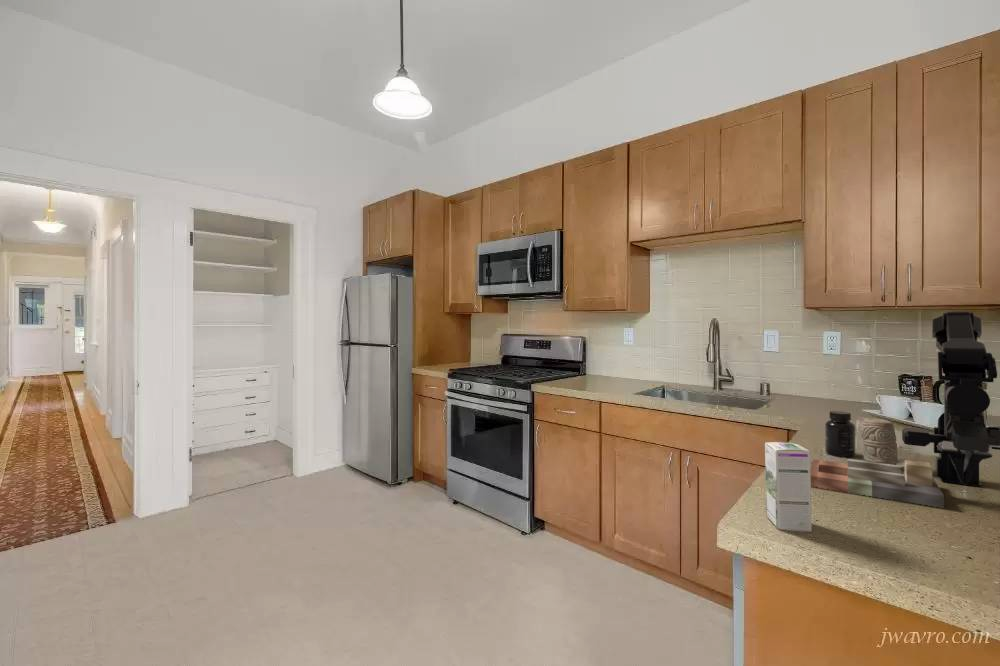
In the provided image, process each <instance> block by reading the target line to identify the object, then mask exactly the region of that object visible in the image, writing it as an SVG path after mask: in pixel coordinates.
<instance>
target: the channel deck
mask: <svg viewBox="0 0 1000 666" xmlns="http://www.w3.org/2000/svg"><path fill="white" fill-rule="evenodd" d="M810 477H811V488H815V487H818V488H817V489H821V488H824V489H823V490H827V489H829V491H833V490H835V491H834V492H839V491H841V492H840V493H845V492H846V493H845V494H851V493H852V494H851V495H857V494H858V496H863V495H865V496H864V497H869V496H871V497H870V498H875V497H877V499H881V498H884V499H883V500H887V499H890V500H889V501H894V500H897V501H896V502H900V501H902V503H906V502H909V503H908V504H912V503H915V504H914V505H918V504H922V505H921V506H924V505H928V506H927V507H930V506H933V507H932V508H936V507H939V508H938V509H942V508H943V509H944V510H945V495H944V493H943V491H942V490H941V488H940V487H939V486H938V483H937V482H936V480H935V479H934V477H933V476H932V486H925V485H918V484H911V483H907V482H906V480H905V470H904V471H903V470H902V466H901V465H897V464H896V465H891V464H883V463H875V462H868V461H865V460H860V459H859V460H858V459H851V458H847V462H846V463H844V462H838V461H831V460H830V461H829V460H823V459H815V458H814V459H813V458H812V460H811V464H810Z"/></svg>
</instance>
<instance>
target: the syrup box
mask: <svg viewBox="0 0 1000 666" xmlns="http://www.w3.org/2000/svg"><path fill="white" fill-rule="evenodd" d="M764 454H765V455H764V459H765V461H764V462H765V463H764V466H765V467H764V468H765V506H766V507H765V510H766V512H765V513H766V515H765V516H766V518H767V519H768V520H769V521H770V523H772V524H773V525H774V526H775V527H774V528H776V529H777V530H781V531H787V532H788V531H789V532H790V531H791V532H806V533H807V532H809V533H810V532H811V533H812V527H813V526H812V523H813V522H812V487H811V477H810V470H811V451H810V450H809V449H806V448H805V447H803V446H801V445H800V444H798V443H795V442H786V441H785V442H784V441H774V442H772V441H769V442H767V441H765V443H764Z"/></svg>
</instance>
